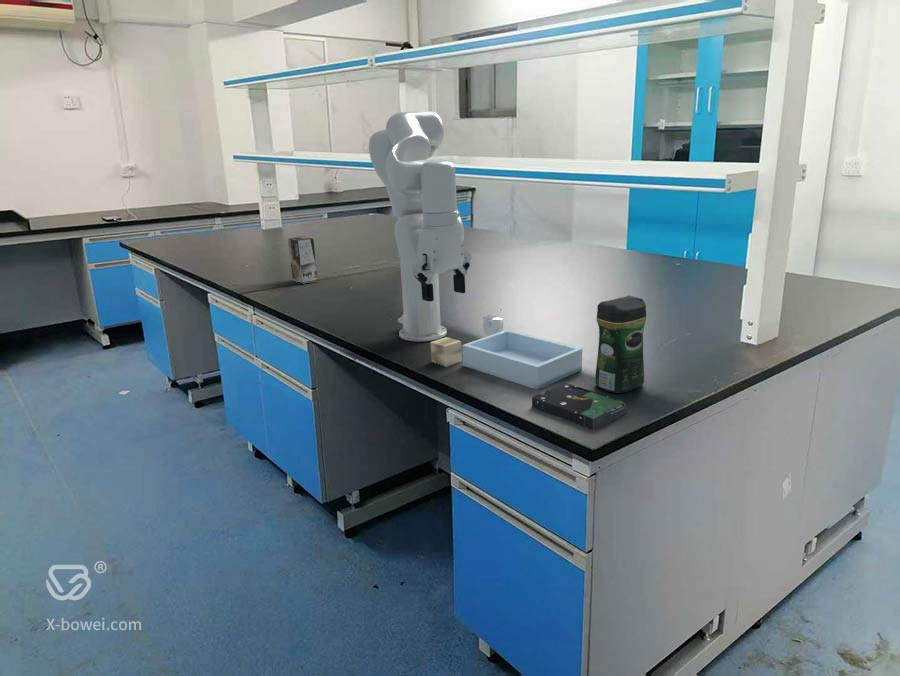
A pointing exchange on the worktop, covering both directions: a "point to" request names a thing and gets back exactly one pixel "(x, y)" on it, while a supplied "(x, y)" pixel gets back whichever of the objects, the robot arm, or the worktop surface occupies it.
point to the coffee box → (302, 258)
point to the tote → (522, 358)
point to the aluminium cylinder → (492, 325)
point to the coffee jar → (620, 344)
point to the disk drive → (579, 405)
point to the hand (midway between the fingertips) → (444, 296)
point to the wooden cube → (446, 351)
